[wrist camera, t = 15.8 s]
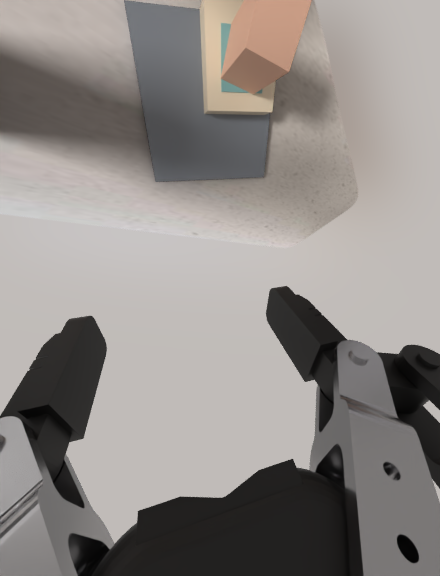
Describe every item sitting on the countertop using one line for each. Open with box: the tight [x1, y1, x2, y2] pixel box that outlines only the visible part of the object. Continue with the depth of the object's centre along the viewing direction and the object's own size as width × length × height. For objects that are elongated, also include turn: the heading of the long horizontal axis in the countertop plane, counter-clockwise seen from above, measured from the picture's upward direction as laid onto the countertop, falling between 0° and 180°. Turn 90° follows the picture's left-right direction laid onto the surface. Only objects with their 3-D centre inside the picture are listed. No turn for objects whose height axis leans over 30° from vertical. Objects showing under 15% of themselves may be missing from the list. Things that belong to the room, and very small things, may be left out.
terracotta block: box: [221, 0, 312, 94], centre depth 22 cm, size 5×5×10 cm
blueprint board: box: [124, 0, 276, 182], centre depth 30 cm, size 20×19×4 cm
